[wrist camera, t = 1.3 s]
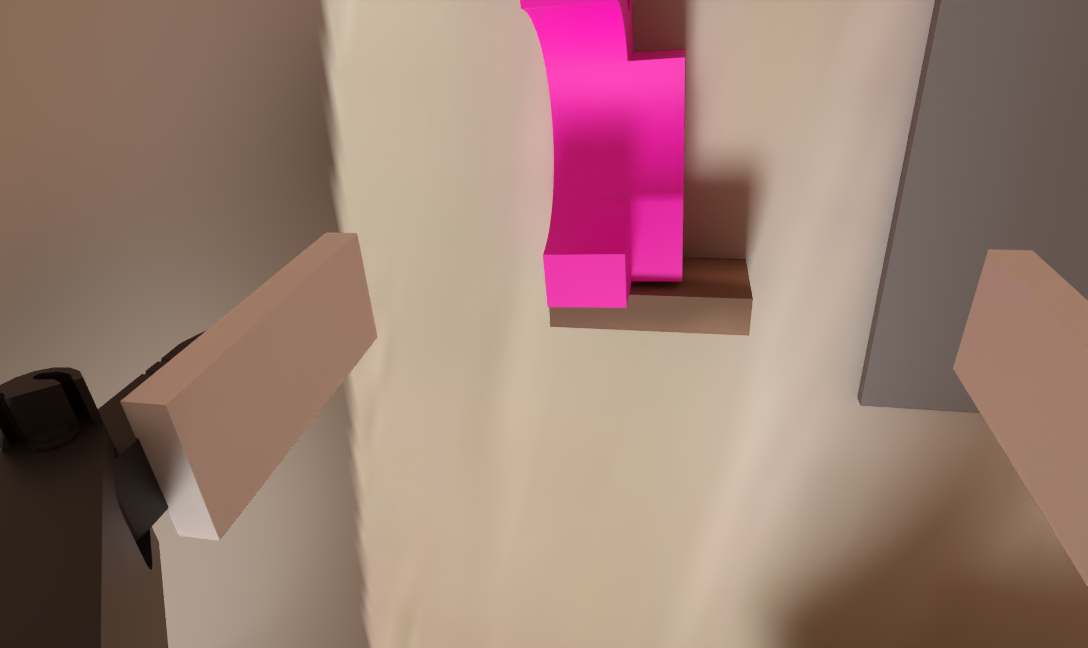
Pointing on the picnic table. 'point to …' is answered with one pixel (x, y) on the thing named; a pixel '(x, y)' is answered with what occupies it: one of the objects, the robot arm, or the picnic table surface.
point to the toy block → (610, 154)
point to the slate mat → (980, 184)
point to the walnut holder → (676, 303)
